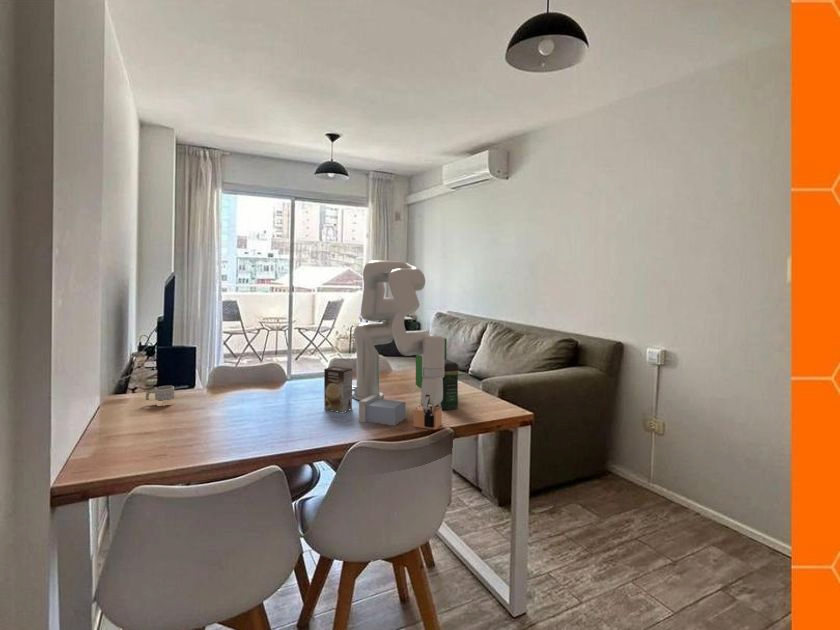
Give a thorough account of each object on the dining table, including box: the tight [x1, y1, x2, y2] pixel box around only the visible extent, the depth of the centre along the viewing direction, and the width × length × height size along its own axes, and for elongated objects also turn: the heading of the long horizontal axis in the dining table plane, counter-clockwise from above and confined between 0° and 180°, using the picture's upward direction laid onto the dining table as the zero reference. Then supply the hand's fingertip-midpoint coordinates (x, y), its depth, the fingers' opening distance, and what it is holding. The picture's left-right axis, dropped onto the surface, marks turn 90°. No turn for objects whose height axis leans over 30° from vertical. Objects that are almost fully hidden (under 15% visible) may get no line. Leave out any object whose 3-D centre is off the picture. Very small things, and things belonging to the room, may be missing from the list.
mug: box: [145, 385, 175, 401], centre depth 179 cm, size 10×7×7 cm, turn 108°
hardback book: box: [415, 337, 448, 389], centre depth 206 cm, size 18×7×24 cm, turn 22°
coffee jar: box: [441, 359, 460, 411], centre depth 179 cm, size 10×8×19 cm
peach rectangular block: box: [413, 404, 443, 430], centre depth 156 cm, size 8×6×6 cm
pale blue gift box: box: [358, 394, 407, 427], centre depth 163 cm, size 14×11×7 cm
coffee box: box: [323, 365, 353, 413], centre depth 174 cm, size 9×6×16 cm
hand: (432, 423), depth 156 cm, fingers closed on peach rectangular block, 6 cm apart
